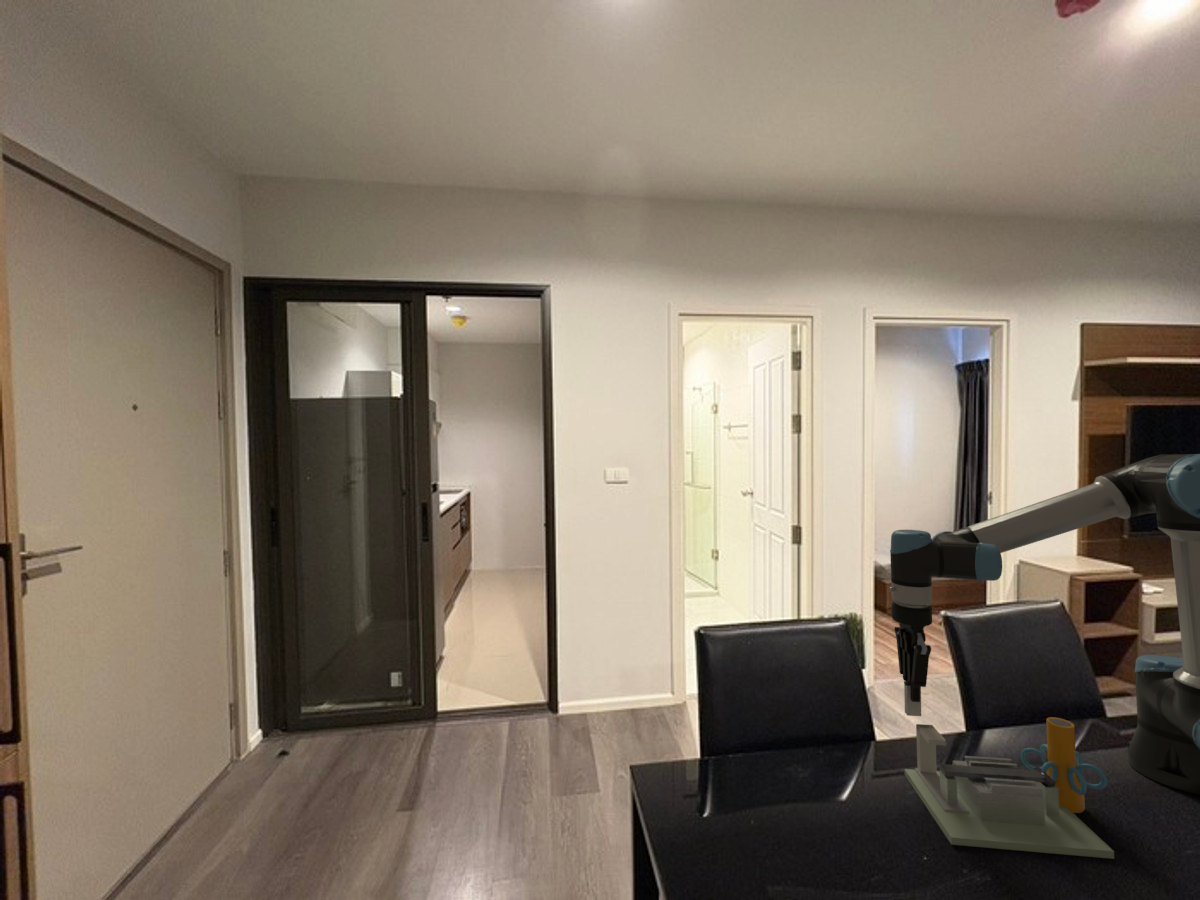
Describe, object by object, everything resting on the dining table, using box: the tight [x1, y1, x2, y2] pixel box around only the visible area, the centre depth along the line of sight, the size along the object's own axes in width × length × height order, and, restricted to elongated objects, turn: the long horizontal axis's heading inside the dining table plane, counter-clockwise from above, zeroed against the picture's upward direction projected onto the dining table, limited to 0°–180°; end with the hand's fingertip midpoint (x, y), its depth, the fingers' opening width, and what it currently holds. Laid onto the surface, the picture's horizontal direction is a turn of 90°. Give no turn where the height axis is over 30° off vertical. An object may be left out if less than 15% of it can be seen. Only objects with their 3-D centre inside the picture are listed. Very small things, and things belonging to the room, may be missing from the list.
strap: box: [938, 763, 1056, 787], centre depth 98 cm, size 18×4×1 cm, turn 81°
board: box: [904, 767, 1115, 859], centre depth 98 cm, size 24×20×2 cm
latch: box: [915, 723, 947, 773], centre depth 107 cm, size 3×6×9 cm, turn 170°
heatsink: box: [939, 755, 1059, 826], centre depth 98 cm, size 18×10×6 cm, turn 81°
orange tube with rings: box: [1019, 716, 1108, 814], centre depth 100 cm, size 12×10×15 cm
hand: (912, 714), depth 114 cm, fingers closed
